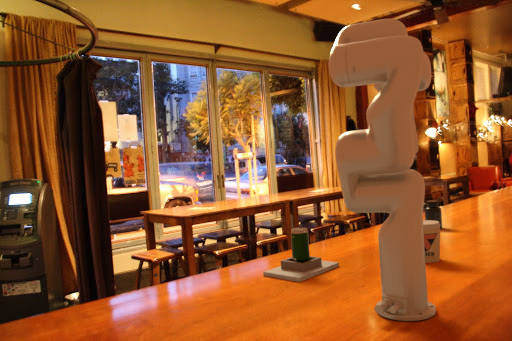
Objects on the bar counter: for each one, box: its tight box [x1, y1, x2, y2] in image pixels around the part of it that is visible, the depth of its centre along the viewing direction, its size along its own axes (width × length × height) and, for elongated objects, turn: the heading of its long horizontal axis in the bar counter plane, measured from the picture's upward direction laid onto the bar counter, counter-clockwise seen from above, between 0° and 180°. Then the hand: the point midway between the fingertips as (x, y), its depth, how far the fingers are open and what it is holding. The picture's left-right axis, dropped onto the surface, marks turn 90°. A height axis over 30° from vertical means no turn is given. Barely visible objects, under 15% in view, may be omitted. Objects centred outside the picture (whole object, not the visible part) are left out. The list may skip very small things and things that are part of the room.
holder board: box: [262, 255, 340, 283], centre depth 141 cm, size 20×14×4 cm
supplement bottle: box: [423, 199, 443, 230], centre depth 196 cm, size 7×7×12 cm
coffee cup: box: [423, 219, 441, 264], centre depth 143 cm, size 9×9×12 cm
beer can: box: [290, 227, 311, 263], centre depth 141 cm, size 5×5×12 cm
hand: (403, 175), depth 127 cm, fingers open, 9 cm apart
